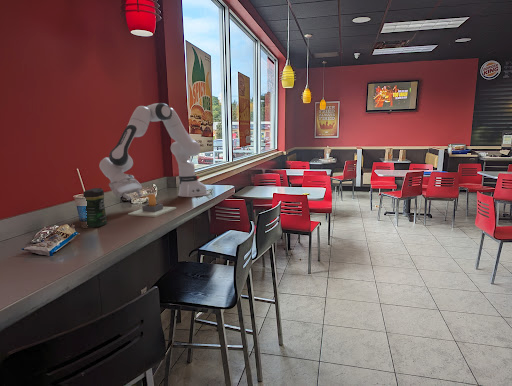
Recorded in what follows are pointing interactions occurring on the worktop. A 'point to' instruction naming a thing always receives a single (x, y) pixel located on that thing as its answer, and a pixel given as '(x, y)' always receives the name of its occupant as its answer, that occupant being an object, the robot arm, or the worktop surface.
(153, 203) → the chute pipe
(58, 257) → the worktop surface
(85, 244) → the worktop surface
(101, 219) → the coffee jar
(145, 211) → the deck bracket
